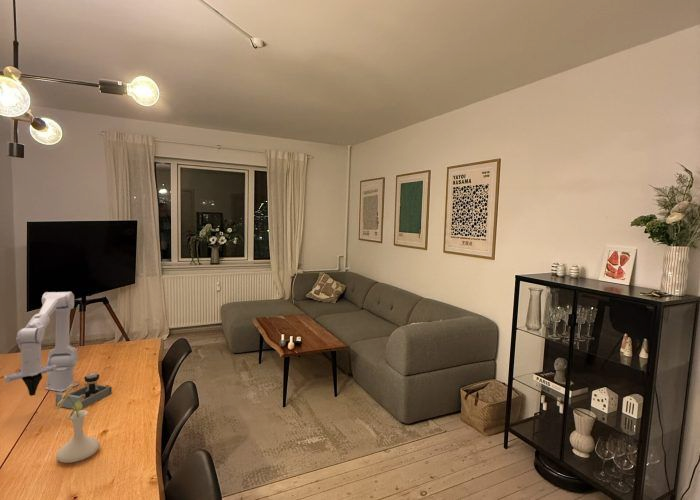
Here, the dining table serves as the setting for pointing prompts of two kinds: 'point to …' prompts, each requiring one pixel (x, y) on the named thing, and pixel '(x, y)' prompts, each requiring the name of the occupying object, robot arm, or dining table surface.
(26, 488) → the dining table surface
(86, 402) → the duct bay
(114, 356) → the dining table surface
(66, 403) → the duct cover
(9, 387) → the dining table surface
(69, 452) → the flower in vase
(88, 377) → the push button
